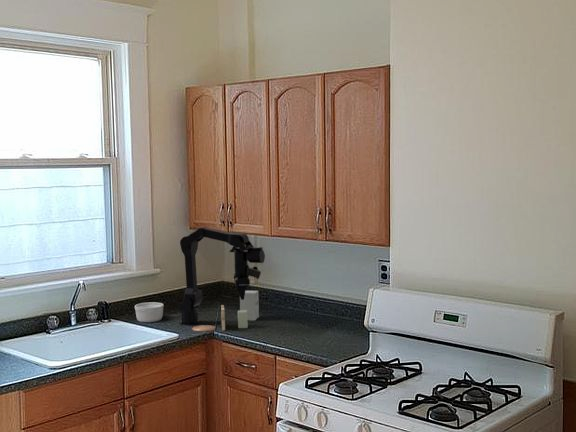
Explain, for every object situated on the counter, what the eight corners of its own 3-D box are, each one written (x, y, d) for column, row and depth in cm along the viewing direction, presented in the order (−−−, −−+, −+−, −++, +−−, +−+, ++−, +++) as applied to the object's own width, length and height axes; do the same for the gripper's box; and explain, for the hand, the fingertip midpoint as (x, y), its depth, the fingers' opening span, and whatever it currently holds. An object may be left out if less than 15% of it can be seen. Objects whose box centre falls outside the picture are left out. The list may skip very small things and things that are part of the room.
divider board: (225, 330, 323) (224, 309, 323) (222, 330, 323) (221, 309, 323) (224, 325, 333) (223, 305, 333) (221, 325, 333) (221, 305, 332)
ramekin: (170, 318, 349) (169, 304, 349) (147, 324, 339) (147, 309, 338) (151, 315, 358) (151, 301, 357) (129, 320, 348) (128, 305, 347)
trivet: (187, 330, 325) (187, 329, 325) (199, 325, 334) (199, 324, 334) (208, 332, 321) (208, 331, 321) (219, 327, 330) (219, 326, 330)
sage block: (247, 327, 327) (247, 312, 327) (238, 328, 327) (238, 312, 326) (247, 325, 331) (246, 310, 331) (238, 326, 331) (237, 310, 330)
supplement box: (255, 320, 341) (254, 293, 340) (239, 320, 343) (239, 293, 341) (259, 317, 348) (258, 290, 347) (244, 316, 350) (243, 290, 349)
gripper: (261, 264, 319) (262, 300, 320) (257, 258, 337) (258, 293, 338) (234, 265, 317) (235, 302, 319) (233, 259, 336) (234, 294, 337)
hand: (242, 297), depth 328 cm, fingers open, 9 cm apart
